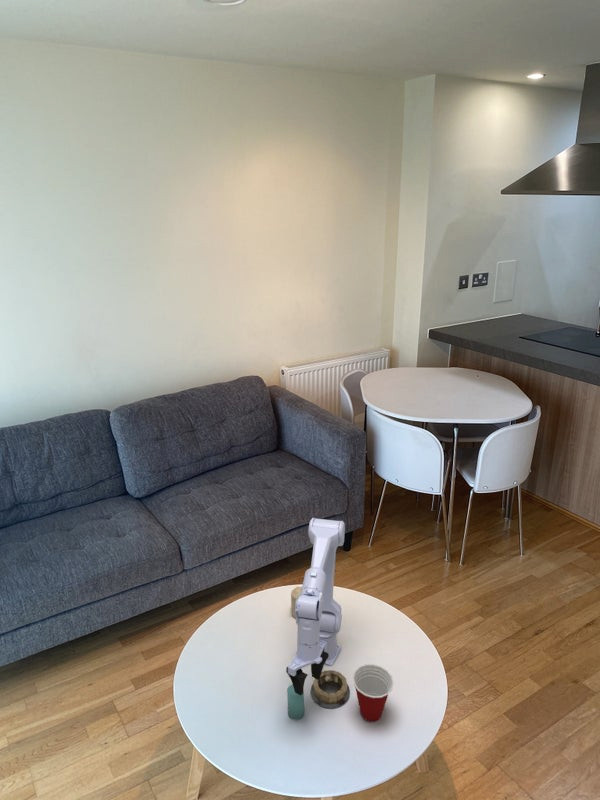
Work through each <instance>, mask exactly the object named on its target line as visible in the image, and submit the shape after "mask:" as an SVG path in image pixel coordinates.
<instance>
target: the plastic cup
mask: <svg viewBox="0 0 600 800" xmlns="http://www.w3.org/2000/svg"><path fill="white" fill-rule="evenodd" d="M352 674H353V675H352V682H353V686H354V687H355V692H356V697H357V701H358V702H357V703H358V707H359V712H360V715H361V717H362V719H364V720H366V722H371V723H372V722H373V723H374V722H377V721H379V720H380V719H382V716H383V712H384V710H385V705H386V703H387V699H388V697H389V694H390V693H391V692H392V691H393V688H394V684H395V682H394V679H393V675H391V673H390V672H389V670H387V669H386V668H385V667H383V666H381V665H378V664H375V663H364V664H362V665H360V666H358V667H357V668H356V669H355V670H354V671H353V673H352Z"/></svg>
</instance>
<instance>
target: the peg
mask: <svg viewBox="0 0 600 800" xmlns="http://www.w3.org/2000/svg"><path fill="white" fill-rule="evenodd" d="M304 691H305V690H303V694H302V695H299V694H297V693H295V691H294V687H293V684H290V685H289V686H288V687H287V690H286V697H287V716H288V717H289V718H290V719H291V720H294V721H297V720H298V721H299V720H301V719H302V718H304V716H305V694H304V693H305V692H304Z"/></svg>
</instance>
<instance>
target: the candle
mask: <svg viewBox="0 0 600 800" xmlns="http://www.w3.org/2000/svg"><path fill="white" fill-rule="evenodd" d="M301 590H302V586H296V587H295V588H293V589H292V590H291V592H290V601H291V602H290V603H291V604H290V605H291V616H292V618H293V619H295V620H296V616H295V604H296V599H297V597H298V596H300V594H301Z"/></svg>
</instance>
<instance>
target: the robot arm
mask: <svg viewBox="0 0 600 800" xmlns="http://www.w3.org/2000/svg"><path fill="white" fill-rule="evenodd" d="M345 525H346V524H345V522H344V520H334V519H323V518H316V517H312V518H311V519H310V521H309V525H308V530H307V531H308V538H309V540H310V544H311V545H313V547H312V548H313V549H312V555H311V556H312V557H311V564H310V567H309V568H308V569H307V570H305V572H304V577H303V581H302V586H301V587H302V590H301V594H300V596H298V597H297V599H296V604H295V616H296V619H295V623H296V624H297V633H296V635H297V638H296V639H297V641H296V642H297V643H296V645H297V646H296V647H297V650H296V653H295V655H294V657H293V659H292V661H291V663H289V665H288V666H287V667H286V669H285V670H286V671H285V672H286V674H287V675H288V677H289V678H290V680H291V683H292V684H293V687H294V691H295V693H297V694H299V695H302V694H303V690H304V688H305V681H306V679H307V677H308V676H309V674H308V673H306V672H304V670H303V668H305V667H308V666H310V672H311V678H313V679H317V680H319V679H320V676H321V672H323V668H324V666H325V665H328V666H333V665H334V662H335V661H336V659H337V658H338V655H339V654H340V651H341V650H342V647H341V646H339V645H337V634H339V632H341V627H342V620H343V619H342V617H343V614H342V607H341V604H339V603H338V602H337V601H336V600H335V599H334V587H335V586H334V584H335V569H336V568H335V567H336V553H337V549H338V547H342V546H343V545H344V543H345V532H346V526H345ZM292 684H291V685H292ZM304 691H305V690H304Z"/></svg>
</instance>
